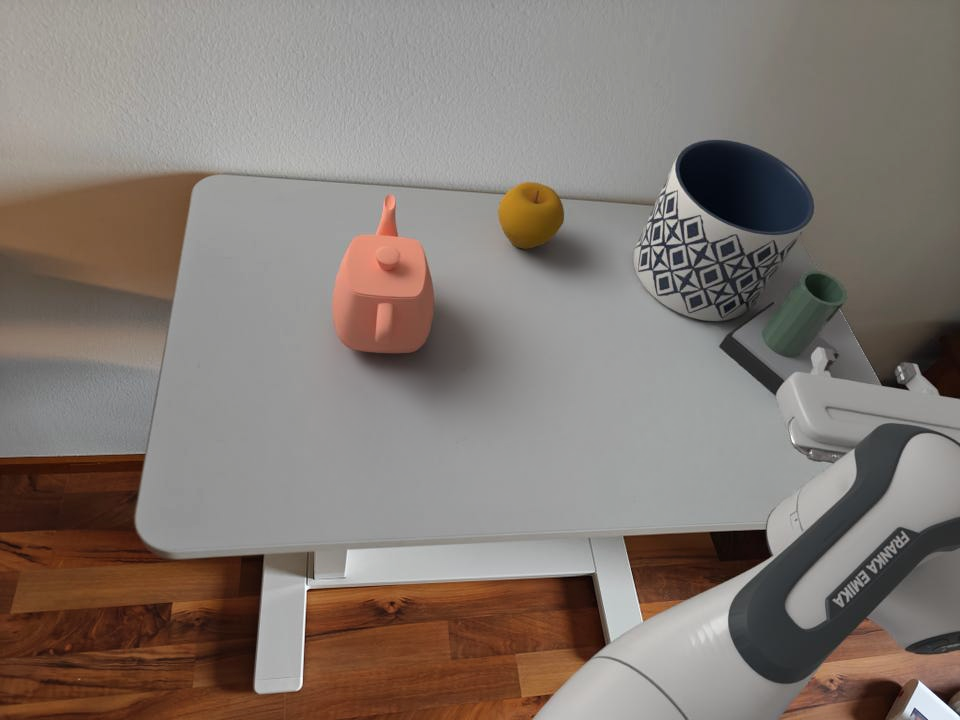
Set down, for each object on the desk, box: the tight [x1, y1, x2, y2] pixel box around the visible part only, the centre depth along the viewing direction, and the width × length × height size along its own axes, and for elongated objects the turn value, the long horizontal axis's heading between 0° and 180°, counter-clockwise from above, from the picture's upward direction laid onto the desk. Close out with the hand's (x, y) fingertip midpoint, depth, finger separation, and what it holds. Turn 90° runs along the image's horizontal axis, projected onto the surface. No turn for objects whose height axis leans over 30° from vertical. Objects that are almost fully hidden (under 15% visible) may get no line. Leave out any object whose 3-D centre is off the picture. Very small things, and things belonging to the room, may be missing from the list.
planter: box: [632, 139, 815, 322], centre depth 97 cm, size 18×18×16 cm
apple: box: [497, 181, 565, 250], centre depth 99 cm, size 9×9×9 cm
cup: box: [762, 270, 848, 357], centre depth 90 cm, size 6×6×10 cm
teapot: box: [331, 193, 435, 354], centre depth 85 cm, size 20×12×12 cm, turn 3°
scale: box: [718, 301, 840, 397], centre depth 95 cm, size 11×11×3 cm
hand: (863, 358), depth 77 cm, fingers open, 8 cm apart
